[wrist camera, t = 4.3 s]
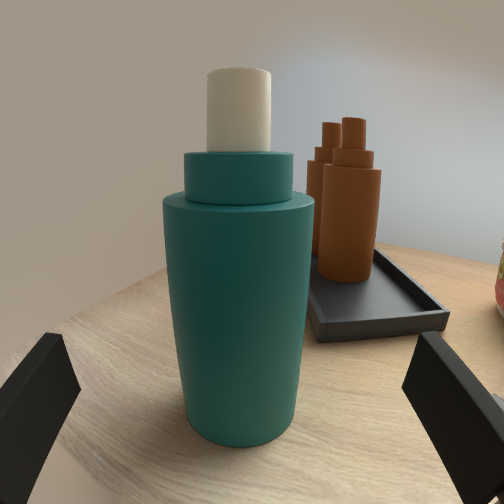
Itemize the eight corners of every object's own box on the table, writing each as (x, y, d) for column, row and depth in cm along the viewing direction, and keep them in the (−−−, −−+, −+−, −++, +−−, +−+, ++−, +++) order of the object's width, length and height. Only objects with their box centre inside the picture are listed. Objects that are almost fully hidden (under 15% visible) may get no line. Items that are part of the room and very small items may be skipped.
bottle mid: (324, 283, 35) (334, 113, 29) (311, 262, 42) (318, 118, 36) (378, 282, 36) (393, 120, 30) (359, 261, 42) (369, 123, 36)
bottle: (180, 445, 15) (142, 59, 9) (192, 372, 22) (177, 89, 15) (301, 444, 15) (336, 60, 9) (287, 372, 22) (301, 89, 16)
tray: (317, 343, 25) (320, 322, 25) (278, 242, 52) (278, 230, 51) (445, 329, 26) (450, 311, 25) (354, 242, 52) (355, 230, 52)
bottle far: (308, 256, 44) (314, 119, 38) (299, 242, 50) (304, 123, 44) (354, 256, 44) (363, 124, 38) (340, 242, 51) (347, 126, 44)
